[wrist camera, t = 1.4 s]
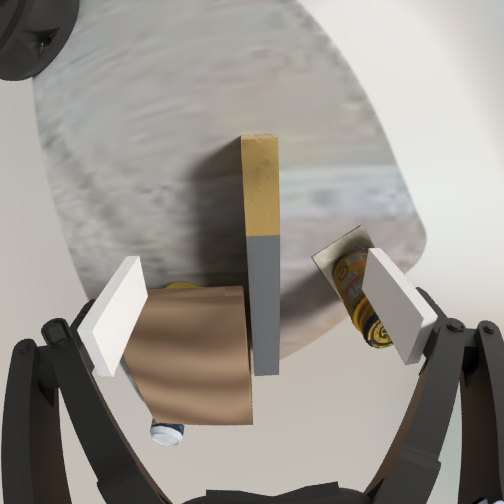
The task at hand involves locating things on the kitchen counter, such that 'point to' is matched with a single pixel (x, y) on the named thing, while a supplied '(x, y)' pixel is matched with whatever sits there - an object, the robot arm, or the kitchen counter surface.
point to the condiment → (353, 283)
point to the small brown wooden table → (193, 356)
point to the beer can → (166, 433)
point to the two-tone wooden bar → (263, 247)
